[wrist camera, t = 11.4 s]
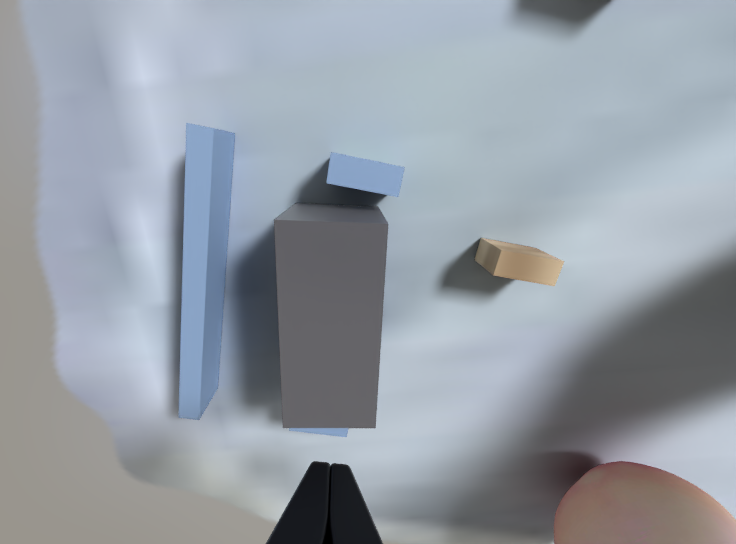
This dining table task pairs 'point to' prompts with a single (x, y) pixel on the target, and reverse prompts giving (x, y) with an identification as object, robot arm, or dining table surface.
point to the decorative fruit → (639, 509)
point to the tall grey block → (330, 313)
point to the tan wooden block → (518, 262)
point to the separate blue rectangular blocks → (209, 254)
